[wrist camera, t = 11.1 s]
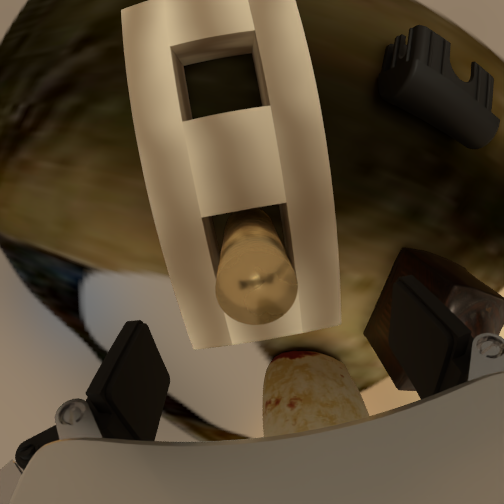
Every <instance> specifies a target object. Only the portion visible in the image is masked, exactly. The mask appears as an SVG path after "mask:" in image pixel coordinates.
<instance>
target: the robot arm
mask: <svg viewBox="0 0 504 504" xmlns="http://www.w3.org/2000/svg"><path fill="white" fill-rule="evenodd" d="M471 333H472V331H471V330H470V329H469V328H468V327H467V326H466V325H465V324H464V323H463V322H462V321H461V320H460V319H459V318H458V317H457V316H456V315H455V314H454V313H453V312H452V311H451V310H450V309H449V308H448V307H446V306H445V305H444V304H443V303H442V302H441V301H440V300H439V299H438V298H437V297H436V296H435V295H434V294H433V293H432V292H430V291H429V290H428V289H427V288H426V287H425V286H424V285H423V284H422V283H421V282H420V281H418V280H417V279H416V278H415V277H414V276H413V275H407V276H403V277H399V278H397V280H396V282H394V283H393V289H392V305H391V317H390V328H389V337H388V342H389V346H390V348H391V350H392V351H393V353H394V355H395V356H396V358H397V359H398V361H399V363H400V364H401V366H402V368H403V369H404V371H405V373H406V374H407V376H408V378H409V379H410V381H411V383H412V384H413V386H414V388H415V389H416V391H417V393H418V395H419V396H420V398H421V400H418V401H416V402H413V403H410V404H407V405H404V406H401V407H398V408H395V409H392V410H389V411H386V412H383V413H379V414H376V415H373V416H369V417H365V418H362V419H358V420H354V421H350V422H346V423H342V424H338V425H333V426H329V427H324V428H319V429H314V430H309V431H303V432H297V433H291V434H285V435H278V436H270V437H262V438H253V439H242V440H228V441H209V442H161V441H160V442H159V441H154V440H155V436H156V433H157V429H158V425H159V421H160V417H161V414H162V410H163V406H164V402H165V399H166V395H167V391H168V387H169V384H170V376H169V374H168V371H167V369H166V367H165V365H164V363H163V360H162V358H161V356H160V353H159V351H158V349H157V347H156V344H155V342H154V339H153V337H152V335H151V332H150V330H149V327H148V325H147V324H145V323H143V322H142V321H141V320H137V321H128V322H126V323H125V325H124V326H123V328H122V330H121V331H120V333H119V335H118V336H117V338H116V340H115V342H114V343H113V345H112V347H111V348H110V350H109V352H108V354H107V355H106V357H105V359H104V361H103V362H102V364H101V366H100V368H99V369H98V371H97V373H96V375H95V377H94V378H93V380H92V382H91V384H90V386H89V388H88V389H87V392H86V395H87V396H88V398H87V399H86V401H85V400H82V399H72V400H69V401H67V402H65V403H63V404H62V405H61V406H60V407H59V408H58V410H57V412H56V415H55V423H56V425H55V426H53V427H51V428H49V429H47V430H45V431H43V432H42V433H39V434H37V435H36V436H34V437H32V438H30V439H28V440H26V441H24V442H23V443H21V444H20V445H19V447H18V449H17V451H16V455H15V459H16V462H14V461H13V460H11V461H10V462H9V463H7V464H6V465H5V466H4V467H3V468H2V469H0V504H504V339H503V338H502V337H500V336H499V335H497V334H493V333H484V334H480V335H478V336H476V338H475V339H474V338H473V337H472V336H471Z"/></svg>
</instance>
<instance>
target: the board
mask: <svg viewBox="0 0 504 504" xmlns="http://www.w3.org/2000/svg"><path fill="white" fill-rule="evenodd" d="M121 16H122V31H123V43H124V54H125V64H126V72H127V80H128V88H129V95H130V102H131V109H132V115H133V121H134V127H135V133H136V139H137V144H138V149H139V154H140V159H141V164H142V169H143V174H144V179H145V183H146V188H147V192H148V197H149V201H150V205H151V209H152V213H153V217H154V221H155V225H156V229H157V233H158V237H159V241H160V244H161V248H162V252H163V255H164V259H165V262H166V266H167V269H168V273H169V276H170V279H171V283H172V286H173V289H174V293H175V296H176V299H177V302H178V305H179V308H180V311H181V314H182V317H183V320H184V323H185V326H186V329H187V332H188V335H189V338H190V341H191V344H192V346H193V349H194V350H197V349H204V348H213V347H221V346H228V345H235V344H241V343H248V342H255V341H261V340H267V339H273V338H278V337H284V336H289V335H295V334H300V333H305V332H310V331H315V330H319V329H324V328H329V327H333V326H338V325H341V293H340V271H339V254H338V241H337V228H336V217H335V207H334V197H333V189H332V180H331V172H330V165H329V157H328V150H327V144H326V137H325V131H324V125H323V119H322V113H321V108H320V102H319V97H318V92H317V87H316V82H315V77H314V72H313V68H312V63H311V59H310V54H309V50H308V46H307V42H306V38H305V34H304V30H303V26H302V22H301V19H300V15H299V11H298V8H297V4H296V1H295V0H149V1H146V2H142V3H139V4H137V5H134V6H131V7H128V8H125V9H123V10H121ZM250 53H252V56H253V61H254V66H255V71H256V76H257V81H258V86H259V92H260V97H261V102H262V107H256V108H250V109H243V110H237V111H232V112H226V113H221V114H216V115H211V116H206V117H201V118H197V119H193V118H192V113H191V107H190V101H189V96H188V90H187V84H186V78H185V72H184V66H186V65H190V64H194V63H199V62H203V61H208V60H213V59H218V58H224V57H230V56H236V55H242V54H250ZM275 204H279V208H280V215H281V222H282V228H283V235H284V242H285V249H286V254H287V257H288V259H289V261H290V263H291V266H292V268H293V270H294V272H295V275H296V278H297V282H298V291H297V296H296V299H295V302H294V303H293V305H292V307H291V308H290V309H289V311H288V312H287V313H286V314H284V315H283V316H282V317H280V318H279V319H277V320H275V321H273V322H270V323H267V324H262V325H249V324H244V323H241V322H238V321H236V320H234V319H232V318H231V317H229V316H228V315H227V314H226V313H225V312H224V311H223V310H222V308H221V307H220V305H219V303H218V301H217V298H216V293H215V285H216V278H217V272H218V266H219V261H220V253H219V248H218V243H217V239H216V234H215V230H214V225H213V220H212V216H213V215H218V214H224V213H229V212H235V211H240V210H246V209H251V208H257V207H263V206H269V205H275Z"/></svg>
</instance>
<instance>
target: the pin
mask: <svg viewBox="0 0 504 504" xmlns="http://www.w3.org/2000/svg"><path fill="white" fill-rule="evenodd" d="M297 291H298V282H297V278H296V275H295V272H294V270H293V268H292V266H291V263H290V261H289V259H288V257H287V254H286V252H285V250H284V248H283V245H282V243H281V241H280V239H279V236H278V234H277V232H276V230H275V228H274V225H273V223H272V221H271V219H270V217H269V216H268V215H267V214H266V213H265V212H264V211H263V210H261V209H259V208H251V209H246V210H240V211H235V212H233V213H232V214H231V216H230V217H229V218H228V220H227V222H226V226H225V232H224V238H223V243H222V249H221V255H220V261H219V266H218V272H217V278H216V285H215V293H216V298H217V301H218V303H219V305H220V307H221V308H222V310H223V311H224V312H225V313H226V314H227V315H228V316H229V317H231V318H232V319H234V320H236V321H238V322H241V323H244V324H249V325H262V324H267V323H270V322H273V321H275V320H277V319H279V318H280V317H282V316H283V315H284V314H286V313H287V312H288V311H289V309H290V308H291V307H292V305H293V303H294V302H295V299H296V296H297Z"/></svg>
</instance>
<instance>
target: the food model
mask: <svg viewBox="0 0 504 504" xmlns="http://www.w3.org/2000/svg"><path fill="white" fill-rule="evenodd" d="M365 417H369V414H368V411H367V409H366V406H365V404H364V401H363V399H362V397H361V394H360V392H359V390H358V389H357V387H356V385H355V383H354V381H353V380H352V378H351V376H350V374H349V372H348V370H347V368H346V366H345V365H344V364H343V363H341V362H340V361H338V360H336V359H334V358H333V357H330V356H327V355H324V354H321V353H317V352H312V351H290V352H285V353H282V354H280V355H278V356H275V358H274V359H273V360H272V361H271V363H270V364H269V366H268V368H267V371H266V375H265V379H264V386H263V429H264V437H270V436H278V435H285V434H291V433H297V432H303V431H309V430H314V429H319V428H324V427H329V426H333V425H338V424H342V423H346V422H350V421H354V420H358V419H362V418H365Z"/></svg>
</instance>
